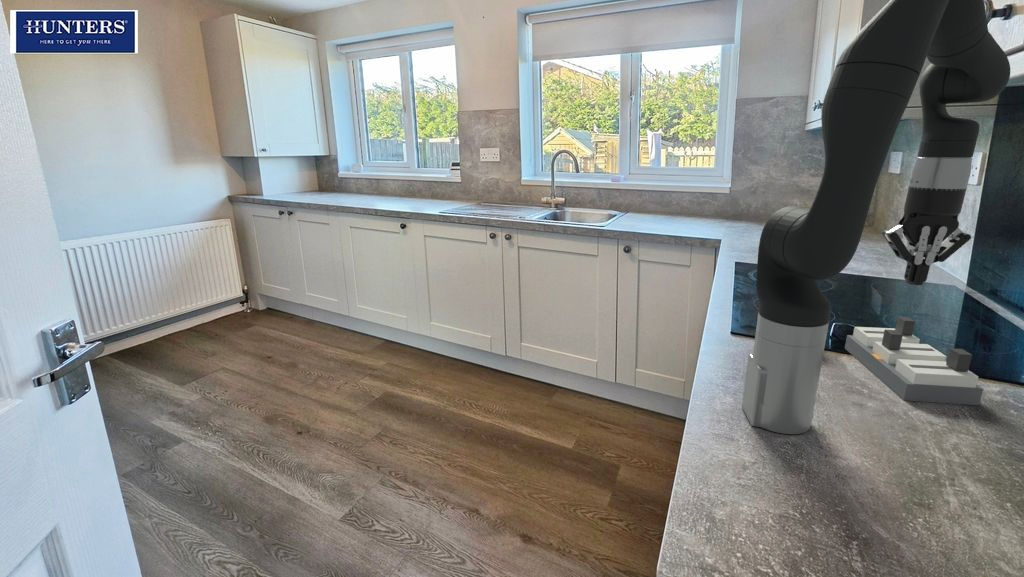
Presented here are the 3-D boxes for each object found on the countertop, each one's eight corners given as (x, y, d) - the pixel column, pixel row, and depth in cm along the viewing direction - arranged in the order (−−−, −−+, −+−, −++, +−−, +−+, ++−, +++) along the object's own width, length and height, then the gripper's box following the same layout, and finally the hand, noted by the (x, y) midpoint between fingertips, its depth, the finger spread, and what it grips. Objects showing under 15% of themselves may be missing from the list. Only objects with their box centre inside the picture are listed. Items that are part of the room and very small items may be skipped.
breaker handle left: (901, 335, 97) (904, 320, 96) (894, 330, 99) (897, 316, 98) (911, 335, 97) (915, 321, 96) (904, 331, 99) (908, 317, 98)
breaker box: (903, 400, 83) (909, 372, 82) (844, 348, 104) (848, 325, 102) (978, 405, 81) (986, 377, 79) (903, 351, 102) (908, 328, 100)
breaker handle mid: (888, 349, 90) (891, 334, 90) (881, 344, 93) (884, 329, 92) (899, 350, 90) (902, 334, 89) (892, 344, 92) (895, 330, 92)
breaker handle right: (955, 370, 82) (959, 354, 81) (945, 364, 84) (950, 348, 83) (967, 371, 81) (972, 354, 81) (958, 365, 84) (962, 349, 83)
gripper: (906, 186, 81) (883, 288, 85) (999, 187, 78) (971, 291, 83) (881, 183, 88) (862, 277, 93) (966, 183, 85) (942, 280, 90)
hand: (914, 283), depth 88 cm, fingers closed
